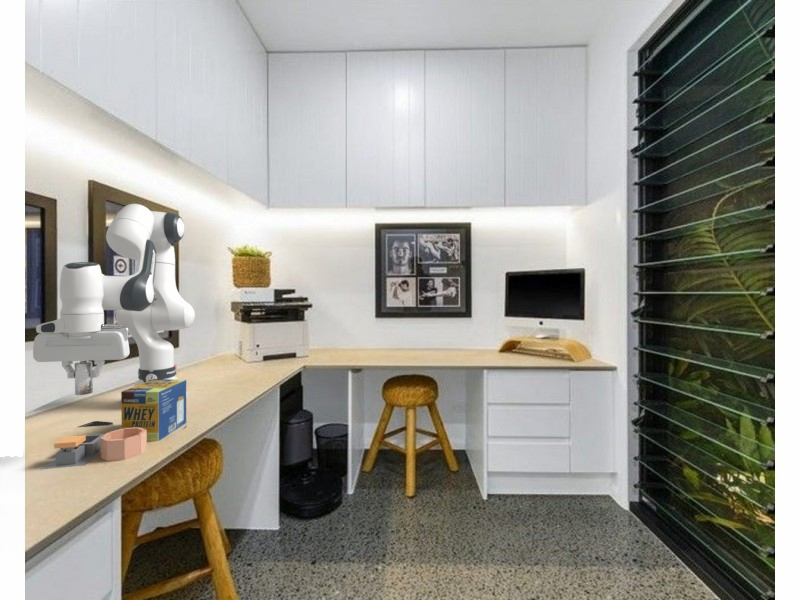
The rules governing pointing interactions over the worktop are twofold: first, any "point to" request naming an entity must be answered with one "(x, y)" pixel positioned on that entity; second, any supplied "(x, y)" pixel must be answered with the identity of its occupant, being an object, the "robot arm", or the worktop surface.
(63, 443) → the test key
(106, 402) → the worktop surface
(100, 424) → the phone
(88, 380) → the cell
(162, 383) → the protein box
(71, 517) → the worktop surface
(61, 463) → the gray square socket tray
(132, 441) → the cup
